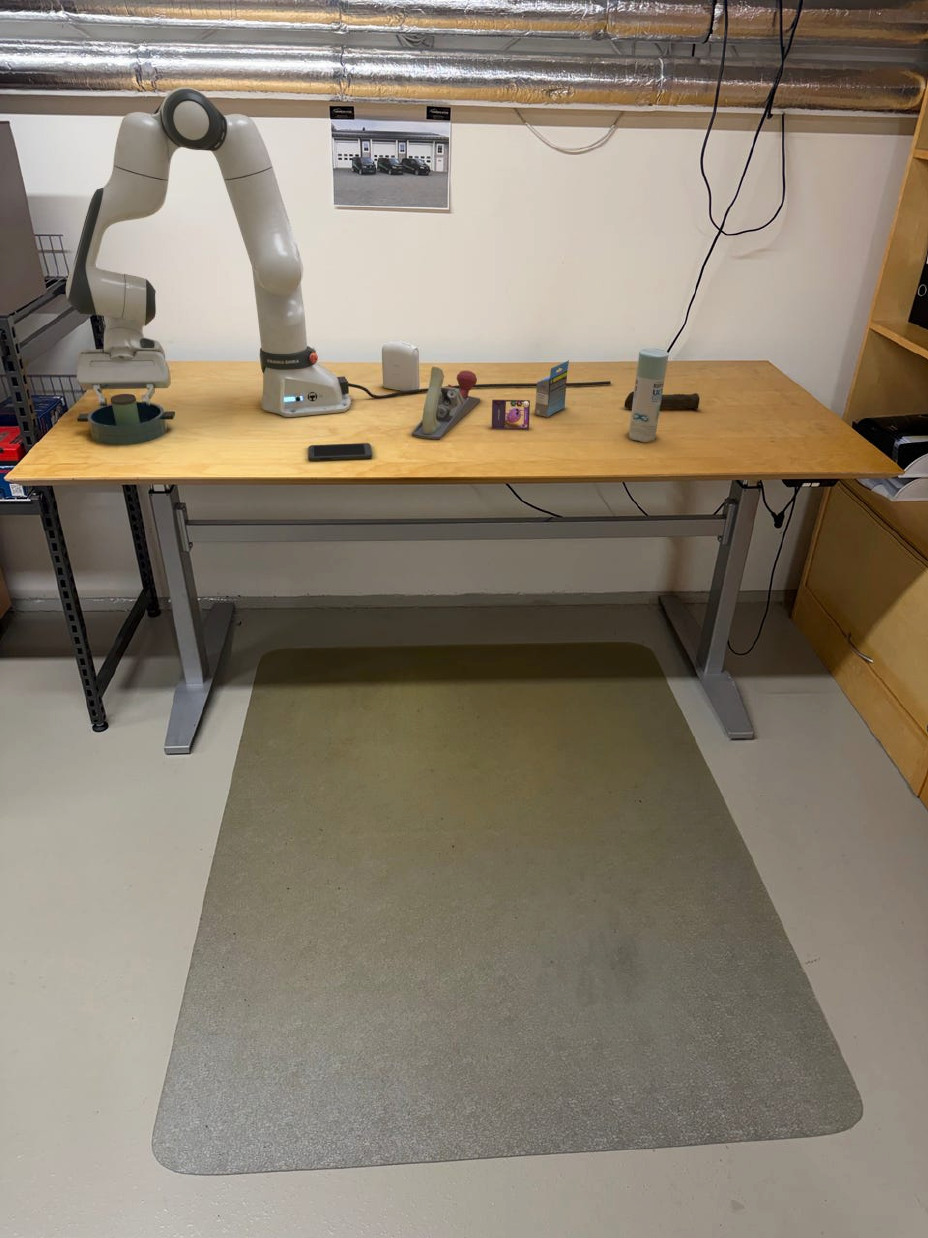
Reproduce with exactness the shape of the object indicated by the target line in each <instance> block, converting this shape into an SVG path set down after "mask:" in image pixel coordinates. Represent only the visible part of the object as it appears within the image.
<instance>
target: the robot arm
mask: <svg viewBox="0 0 928 1238" xmlns="http://www.w3.org/2000/svg"><path fill="white" fill-rule="evenodd" d="M180 148H185V149H188V150H191V151H192V150H194V151H208V152H211V153H212V154H213V156H214V158H215V159H216V162H217V165H218V167H219V170H220V174H221V176H222V180H223V183H224V186H225V188H226V192H227V195H228V197H229V201H230V204H231V207H232V209H233V213H234V216H235V218H236V221H237V225H238V228H239V231H240V235H241V237H242V241H243V243H244V246H245V250H246V252H247V256H248V258H249V259H248V260H249V261H250V265H251V270H252V271H251V272H252V279H253V288H254V296H255V305H256V313H257V321H258V330H259V340H260V341H259V342H260V348H259V363H260V369H261V372H262V393H261V400H260V407H261V408H262V410H264V411H266V412H268V413H269V412H270V413H273V414H277V415H280V416H281V417H284V418H295V417H305V416H315V415H317V416H319V415H326V414H327V415H328V414H338V413H345V412H347V411H348V410H350V408H351V406H352V400H351V399H352V398H351V396H350V395H349V394H350V389H349V388H355V389H359V390H362V391H364V392H365V393H366V394H367V395H368V396H369V397H370V398H373V399H376V400H377V399H378V400H381V399H388V398H393V397H397V396H403V395H411V394H419V393H426V392H428V388H429V387H427V388H426V387H425V388H419V389H417V390H410V391H396V392H392V393H388V394H384V395H379V394H378V395H377V394H373V393H372V392H371V391H370V390H369V389H368V388H367V387H365V386H363V385H361V384H360V385H359V384H356V383H350V382H349V381H348V379H347V378H346V376H337V375H336V374H335V373H333V372H332V371H331V370H329V369H328V368H326V367H325V366H324V365H322V364H320V363H319V362H318V361H319V355H318V354H317V350H316V348H315V347H314V346H313V347H311V346H309V345H308V338H307V327H306V325H307V324H306V313H305V305H304V299H303V298H304V297H303V291H302V280H303V277H304V265H303V261H302V258H301V255H300V251H299V248H298V245H297V241H296V239H295V235H294V232H293V229H292V226H291V223H290V219H289V216H288V213H287V210H286V207H285V204H284V201H283V198H282V197H283V196H282V194H281V190H280V187H279V183H278V180H277V177H276V173H275V171H274V167H273V164H272V160H271V157H270V155H269V152H268V148H267V147H266V144H265V142H264V139H263V137H262V135H261V133H260V131H259V129H258V127H257V125H256V123H255V121H254V120H253V119H252V118H251V117H249V116H247V115H244V114H240V113H231V114H226V115H225V114H223V113H222V112H221V111H220V110H219V109H218V108H217V107H216V106H215V105H214V104H213V102H212V101H211V100H210V99H209V98H208V97H207V96H206V95H205V94H204V93H202V92H201V91H200V90H198V89H196V88H193V87H191V86H180V87H176V88H174V89H172V90H171V91H169V92H168V93H167V94H166V96H165V97H164V99H163V100H162V102H161V103H160V105H159V106H158V107H157V108H156V110H155V111H154V112H153V113H148V112H143V111H134V112H130V113H128V114H126V115H125V116H124V117H123V118H122V120H121V123H120V126H119V129H118V133H117V137H116V141H115V147H114V154H113V165H112V170H111V175H110V178H109V179H108V181H107V183H106V184H105V185H104V186H103V187H101V188H96V190H95V191H94V193H93V194H92V197H91V199H90V202H89V205H88V207H87V208H88V209H87V212H86V215H85V218H84V223H83V226H82V231H81V235H80V238H79V242H78V245H77V250H76V254H75V257H74V258H75V259H74V261H73V264H72V267H71V270H70V272H69V274H68V276H67V279H66V283H65V284H66V285H65V295H66V296H65V297H66V301H67V302H68V304H69V305H70V306H71V307H72V308H73V309H74V310H75V311H76V312H78V313H79V314H80V315H87V316H88V315H91V316H103V322H104V324H105V329H104V332H103V348H101V349H100V348H98V349H83V351H80V352H79V353H77V355H76V365H77V369H76V382H77V384H78V385H79V386H80V387H81V388H82V389H83V390H85V391H86V390H93V391H94V393H95V395H96V396H97V399H98V401H97V402H98V405H99V407H102V406H107V405H108V399H107V397H106V396H105V395H101V394H102V393H103V390H138V389H139V390H140V389H141V390H142V389H143V390H144V389H146V390H147V392H146V393H145V395H144V394H143V395H141V402H142V404H143V405H150V403H151V399H152V398H153V396H154V394H155V393H156V389H168V388H169V387H170V386H171V385H172V379H171V371H170V366H169V364H168V362H167V360H166V353H165V350H164V348H163V345H162V344H161V343H160V341H159V340H156V339H153V338H152V339H151V338H149V337H145V335H144V327H146V326H147V325H149V324H150V323H151V322H152V321H153V320H154V319H155V317H156V314H157V307H156V292H157V291H156V289H155V288H154V286H153V284H152V283H151V282H150V281H149V279H147V278H144V277H141V276H136V275H132V274H128V273H120V272H116V271H110V270H106V269H101V268H99V267H97V265H96V264H97V259H98V256H99V252H100V250H101V249H100V248H101V245H102V241H103V237H104V235H105V232H106V231H107V230H108V228H109V227H111V226H112V225H115V224H117V223H121V222H126V221H133V220H140V219H145V218H148V217H150V216H153V215H155V214H156V213H158V212H159V211H160V210H161V209H162V208H163V206H164V204H165V202H166V199H167V194H168V189H169V182H170V181H169V179H170V171H171V170H170V169H171V164H172V163H171V162H172V159H173V156H174V154H175V153H176V151H177V150H179V149H180ZM611 384H612V383H611V380H605V381H604V380H603V381H590V382H589V381H588V382H586V381H585V382H567V383H566V387H586V386H602V385H611ZM452 386H453V387H455V388H457V389H460V386H459V384H458V385H452ZM444 387H448V385H447V386H444ZM510 387H512V388H513V387H515V388H516V387H519V388H520V387H529V388H531V387H537V382H532V383H531V382H530V383H529V382H527V383H523V382H522V383H519V382H517V383H516V382H515V383H513V382H512V383H478V384H477V383H476V384H475V385H474V386H473V387H472V388H471V389H473V388H474V389H475V388H510Z"/></svg>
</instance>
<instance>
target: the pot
mask: <svg viewBox="0 0 928 1238" xmlns="http://www.w3.org/2000/svg"><path fill="white" fill-rule="evenodd" d="M136 404H137V409H138V415H139V420H140V423H138V424H133V425H124V426H116V421H115V417H114V412H113V407H112V403H109V404H107V406H99V407H97V408H95V409H93V410H91V411H90V412H89V413H88V414H89V415H88V416H87V418H88V427H89V431H90V436H91V439H93V441H95V442H97V443H100V444H104V445H109V446H131V445H140V444H144V443H147V442H152V441H154V440H157V439H159V438H161V437H163V436H164V435H165V434H166V433H167V431H168V424H167V423H168V422H167V420H164V419H163V415H164V413H165V412H166V411H165V409H164V407H163V406H161V405H160V404H157V403H154V402H150V405H143V404H142V401H140V400H139V401H137V400H136Z"/></svg>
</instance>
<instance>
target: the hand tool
mask: <svg viewBox="0 0 928 1238" xmlns="http://www.w3.org/2000/svg"><path fill="white" fill-rule="evenodd" d="M633 397H634V390H633V391H631V392H630V393H628V395H627V397H626V398H625V400H624V406H623V407H624V408H625V409H629V410H632V405H633ZM699 405H700V395H699V393H697V392H694V393H690V394H686V393H673V394H662V398H661V405H660V409H693V410H695V411H697V410H698V409H699Z"/></svg>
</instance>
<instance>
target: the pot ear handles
mask: <svg viewBox="0 0 928 1238" xmlns="http://www.w3.org/2000/svg"><path fill="white" fill-rule="evenodd" d="M164 412H165V413H164V415H163V419H164V420H166V421H167V420H174V419H175V416H176V411H174V410H173V411H172V410H171V411H164ZM88 415H89V413H79V415H78V416H77V418H76V421H77V423H87V422H88V418H87V416H88Z"/></svg>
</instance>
